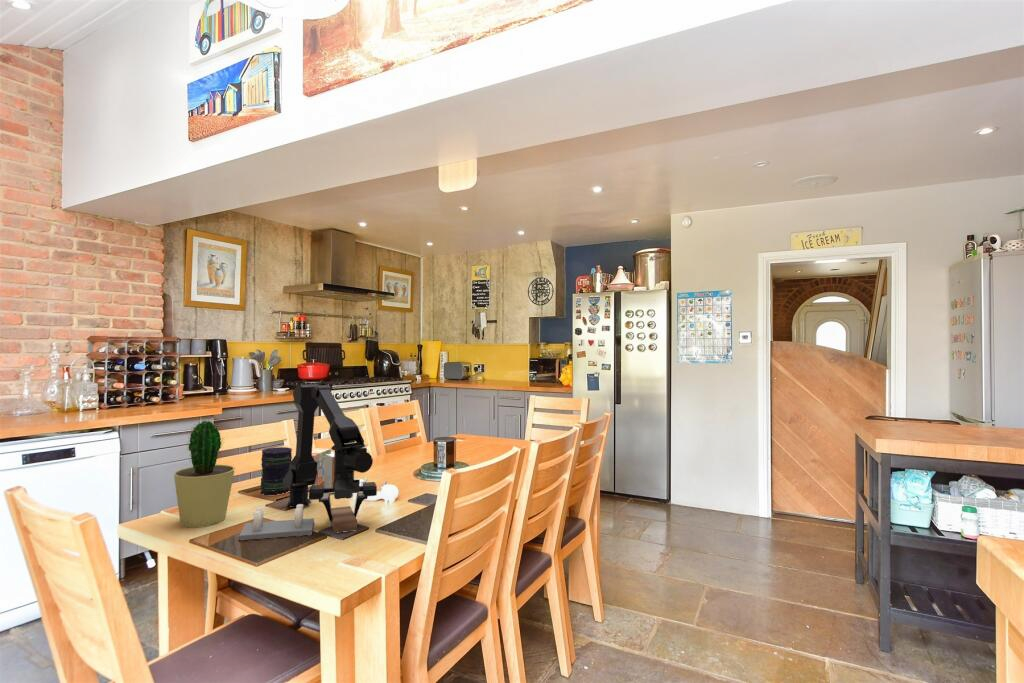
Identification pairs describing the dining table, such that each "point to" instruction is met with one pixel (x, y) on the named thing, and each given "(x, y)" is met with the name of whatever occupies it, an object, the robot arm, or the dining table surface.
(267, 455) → the storage jar
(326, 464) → the small box
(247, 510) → the dining table surface
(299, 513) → the grey base with posts
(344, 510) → the shelf board
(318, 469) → the patterned carton
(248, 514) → the dining table surface
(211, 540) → the dining table surface
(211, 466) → the potted cactus
